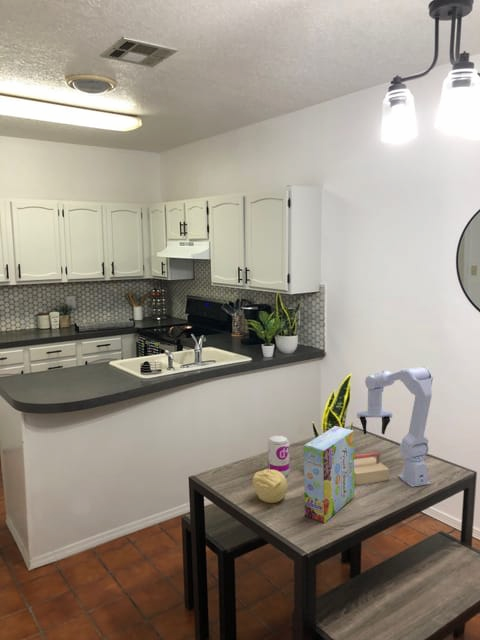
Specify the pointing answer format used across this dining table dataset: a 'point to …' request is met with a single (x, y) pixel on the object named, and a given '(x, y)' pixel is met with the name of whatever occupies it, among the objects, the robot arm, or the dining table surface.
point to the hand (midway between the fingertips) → (373, 433)
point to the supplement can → (278, 454)
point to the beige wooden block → (366, 459)
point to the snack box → (328, 473)
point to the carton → (370, 473)
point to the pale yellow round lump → (270, 485)
